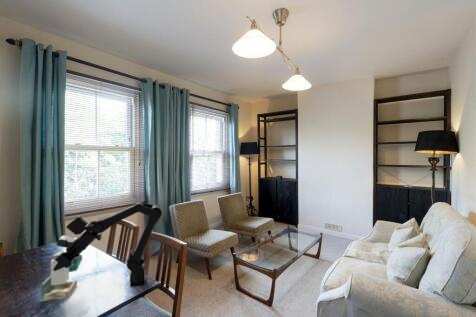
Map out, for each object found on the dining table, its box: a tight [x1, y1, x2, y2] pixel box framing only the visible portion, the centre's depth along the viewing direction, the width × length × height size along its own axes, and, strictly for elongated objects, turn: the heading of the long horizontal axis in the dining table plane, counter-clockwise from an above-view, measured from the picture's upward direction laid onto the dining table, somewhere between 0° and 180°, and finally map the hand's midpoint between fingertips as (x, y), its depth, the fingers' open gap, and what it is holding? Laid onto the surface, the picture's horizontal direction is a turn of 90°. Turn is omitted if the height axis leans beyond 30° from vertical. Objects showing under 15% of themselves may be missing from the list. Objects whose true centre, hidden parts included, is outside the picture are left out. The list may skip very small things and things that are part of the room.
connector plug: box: [50, 251, 70, 286], centre depth 106 cm, size 5×5×13 cm
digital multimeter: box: [69, 254, 83, 272], centre depth 132 cm, size 7×15×3 cm, turn 24°
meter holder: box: [40, 274, 78, 302], centre depth 106 cm, size 10×10×7 cm
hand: (56, 267), depth 106 cm, fingers closed on connector plug, 5 cm apart
